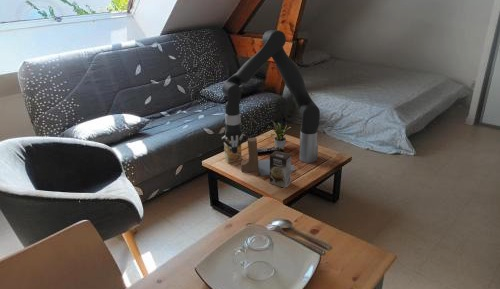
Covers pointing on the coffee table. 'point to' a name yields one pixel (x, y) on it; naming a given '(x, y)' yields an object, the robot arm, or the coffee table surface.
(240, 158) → the candy box
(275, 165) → the coffee box
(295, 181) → the coffee table surface
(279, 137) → the house plant
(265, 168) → the slate rubber mat
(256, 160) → the wooden block
